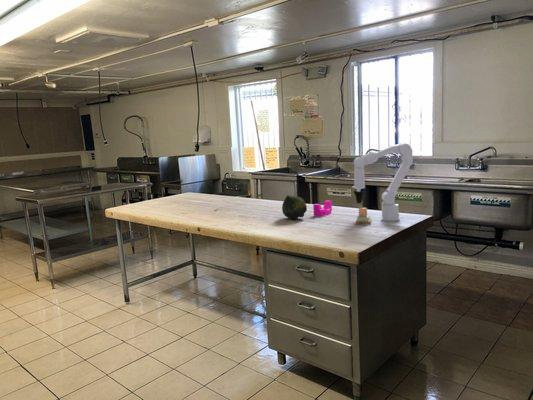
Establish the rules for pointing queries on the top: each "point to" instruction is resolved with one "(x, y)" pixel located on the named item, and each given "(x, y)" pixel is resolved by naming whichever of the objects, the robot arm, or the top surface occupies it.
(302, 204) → the squash
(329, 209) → the toy block
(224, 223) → the top surface
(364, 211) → the terracotta cylinder
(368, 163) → the robot arm
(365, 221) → the tower base
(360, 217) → the tower top
